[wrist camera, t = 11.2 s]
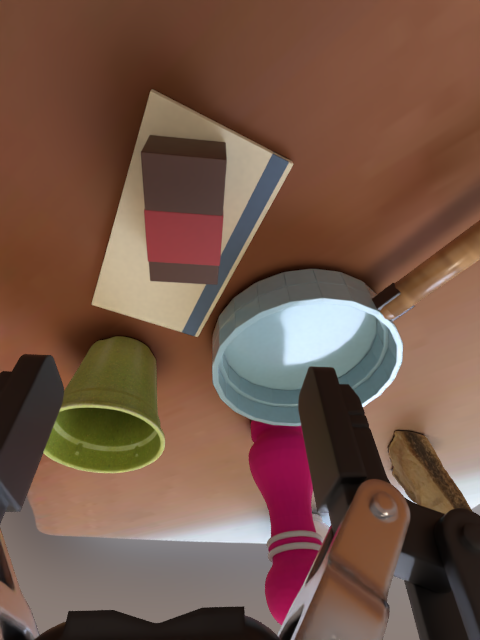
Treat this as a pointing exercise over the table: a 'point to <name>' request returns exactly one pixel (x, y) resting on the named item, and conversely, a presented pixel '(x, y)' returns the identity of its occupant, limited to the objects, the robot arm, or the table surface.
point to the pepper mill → (285, 510)
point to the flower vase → (320, 525)
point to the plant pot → (109, 411)
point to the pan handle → (430, 274)
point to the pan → (301, 343)
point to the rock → (423, 473)
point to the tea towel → (238, 223)
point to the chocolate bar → (183, 208)
